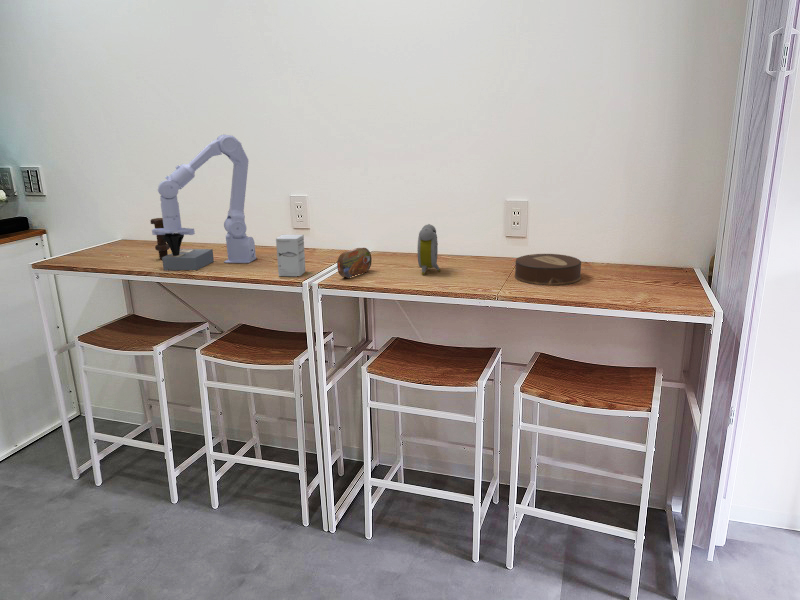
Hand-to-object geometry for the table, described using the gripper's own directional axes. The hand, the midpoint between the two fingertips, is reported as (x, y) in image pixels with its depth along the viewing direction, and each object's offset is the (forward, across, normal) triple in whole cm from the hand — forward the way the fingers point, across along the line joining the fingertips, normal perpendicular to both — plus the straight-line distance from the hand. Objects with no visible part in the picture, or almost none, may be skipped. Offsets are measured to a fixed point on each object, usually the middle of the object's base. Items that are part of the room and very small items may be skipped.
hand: (176, 255), depth 220 cm
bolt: (+5, -12, +14) cm, 19 cm away
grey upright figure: (+5, +88, -2) cm, 89 cm away
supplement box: (+5, +44, -6) cm, 44 cm away
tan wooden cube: (+4, 0, +7) cm, 8 cm away
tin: (+5, +64, -6) cm, 65 cm away
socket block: (+4, +2, +4) cm, 6 cm away
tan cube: (+4, 0, 0) cm, 4 cm away
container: (+5, +125, -6) cm, 126 cm away
